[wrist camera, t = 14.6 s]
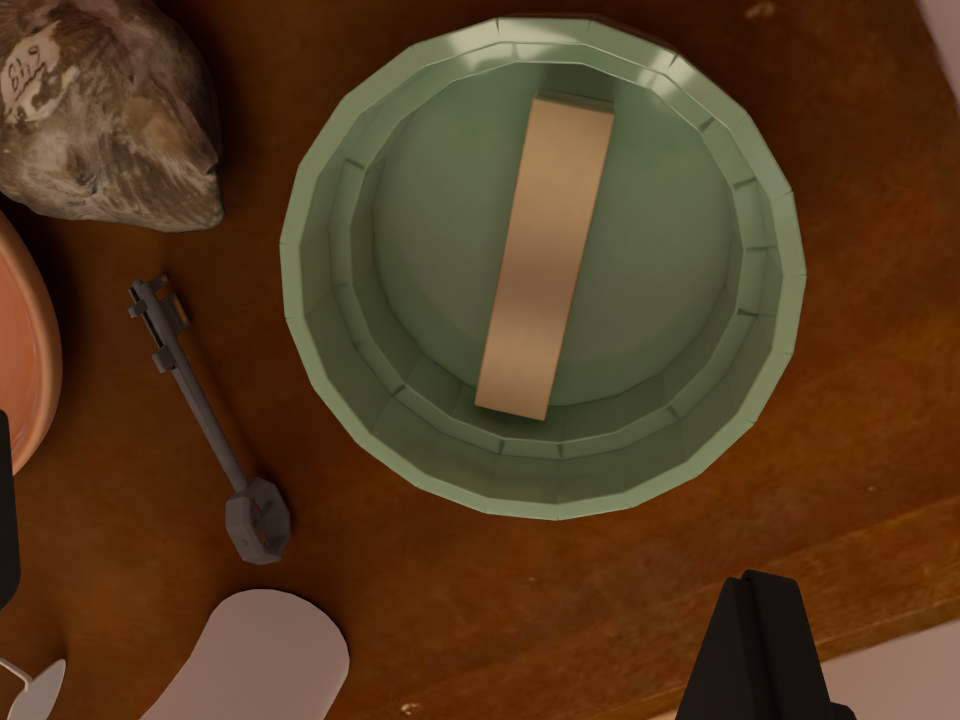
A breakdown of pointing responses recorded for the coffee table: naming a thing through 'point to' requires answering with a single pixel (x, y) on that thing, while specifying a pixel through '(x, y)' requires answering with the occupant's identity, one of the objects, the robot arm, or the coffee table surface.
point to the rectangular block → (543, 250)
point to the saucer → (26, 348)
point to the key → (214, 432)
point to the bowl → (601, 282)
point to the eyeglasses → (36, 692)
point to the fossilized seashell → (108, 115)
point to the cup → (259, 663)
